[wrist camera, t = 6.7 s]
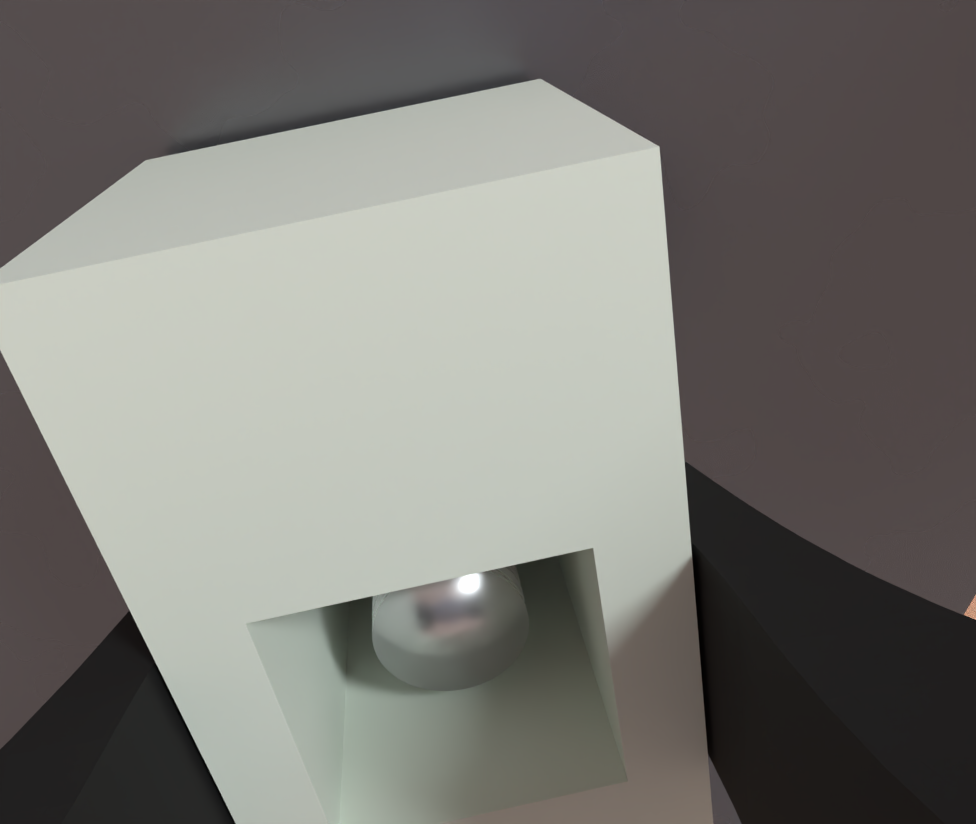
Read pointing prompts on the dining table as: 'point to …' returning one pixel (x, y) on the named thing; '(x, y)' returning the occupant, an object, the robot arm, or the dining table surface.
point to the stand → (690, 241)
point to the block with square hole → (388, 453)
